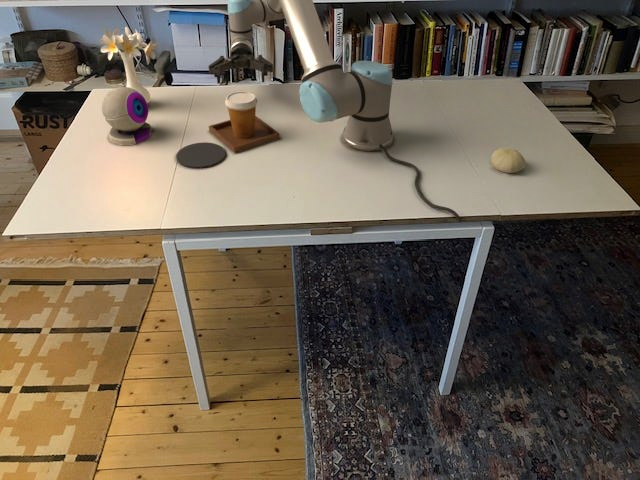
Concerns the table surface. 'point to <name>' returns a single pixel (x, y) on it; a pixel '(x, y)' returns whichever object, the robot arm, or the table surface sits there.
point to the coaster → (200, 155)
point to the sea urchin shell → (507, 160)
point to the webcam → (126, 116)
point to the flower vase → (128, 54)
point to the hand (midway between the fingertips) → (240, 78)
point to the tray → (261, 136)
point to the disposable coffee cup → (242, 113)
